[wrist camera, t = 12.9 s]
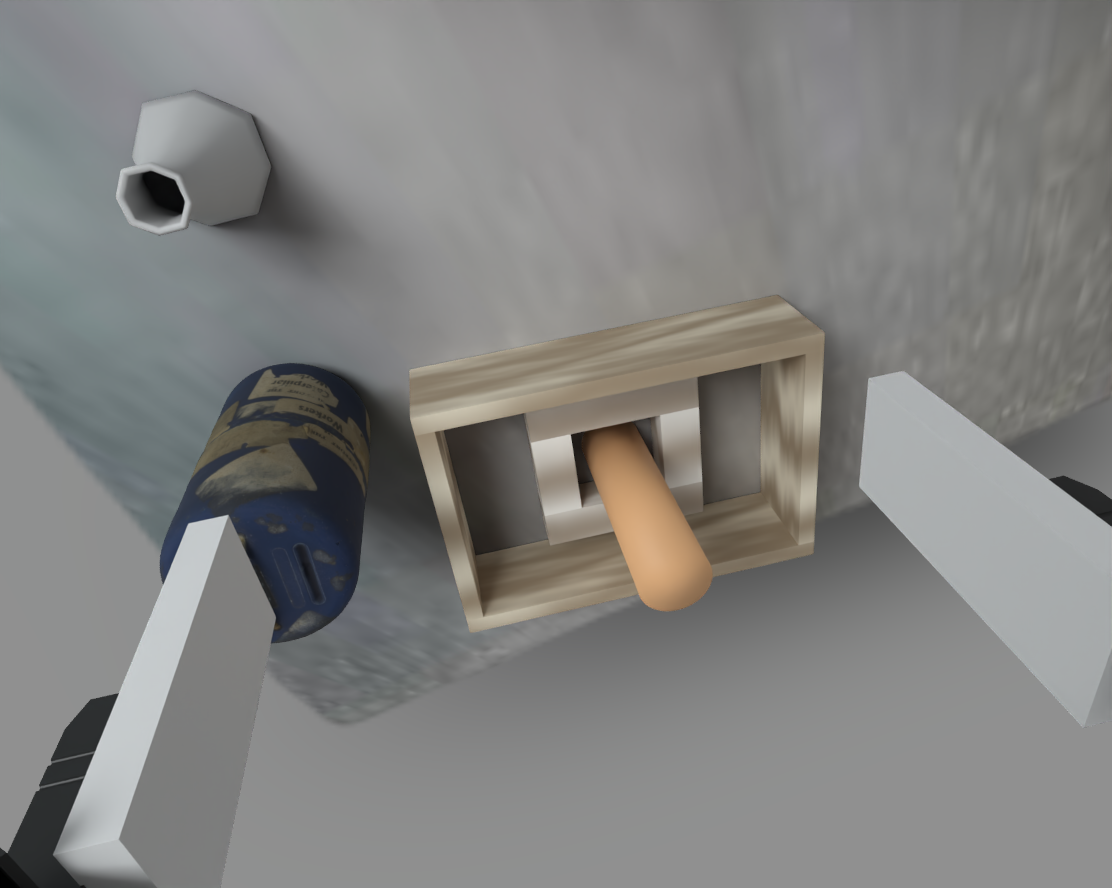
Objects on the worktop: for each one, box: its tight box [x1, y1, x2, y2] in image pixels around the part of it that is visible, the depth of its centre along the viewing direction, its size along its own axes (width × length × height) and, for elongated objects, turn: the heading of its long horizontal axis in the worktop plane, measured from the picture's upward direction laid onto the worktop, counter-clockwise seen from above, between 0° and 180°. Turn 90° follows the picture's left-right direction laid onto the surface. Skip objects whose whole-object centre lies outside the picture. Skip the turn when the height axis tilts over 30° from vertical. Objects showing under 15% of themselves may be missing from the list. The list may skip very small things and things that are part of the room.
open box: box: [409, 295, 825, 633], centre depth 54 cm, size 18×26×7 cm
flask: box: [116, 90, 271, 236], centre depth 38 cm, size 7×7×10 cm
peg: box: [582, 422, 713, 611], centre depth 50 cm, size 4×4×16 cm
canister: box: [160, 363, 371, 643], centre depth 44 cm, size 10×10×18 cm
